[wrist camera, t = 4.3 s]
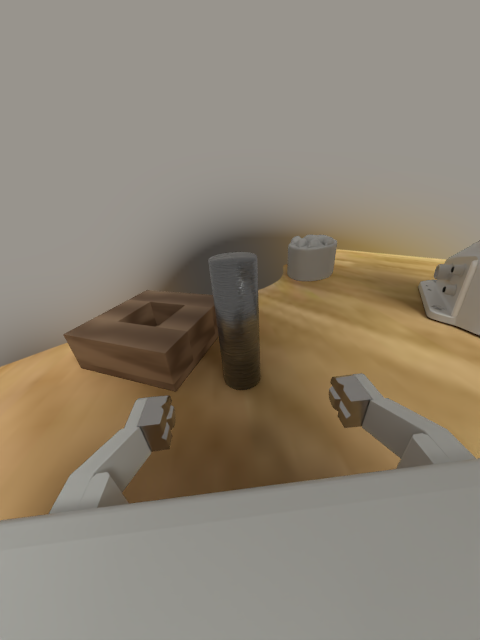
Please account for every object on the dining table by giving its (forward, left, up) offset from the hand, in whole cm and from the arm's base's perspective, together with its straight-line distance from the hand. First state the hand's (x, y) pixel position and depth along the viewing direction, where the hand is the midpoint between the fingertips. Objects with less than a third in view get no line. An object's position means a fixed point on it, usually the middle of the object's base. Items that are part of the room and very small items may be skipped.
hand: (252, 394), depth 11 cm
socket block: (-12, -17, -8) cm, 23 cm away
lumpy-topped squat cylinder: (-49, 0, -9) cm, 49 cm away
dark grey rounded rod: (-9, -4, -8) cm, 13 cm away
